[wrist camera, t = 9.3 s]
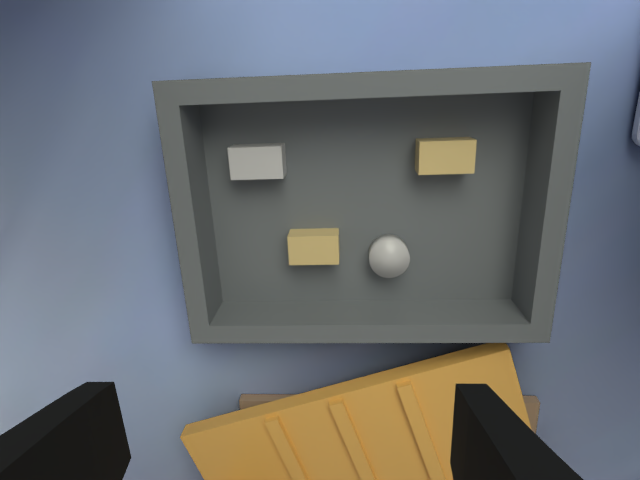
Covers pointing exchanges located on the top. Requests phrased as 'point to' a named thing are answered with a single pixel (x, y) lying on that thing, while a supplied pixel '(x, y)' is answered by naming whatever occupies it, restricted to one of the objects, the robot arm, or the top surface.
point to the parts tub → (373, 202)
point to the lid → (355, 424)
